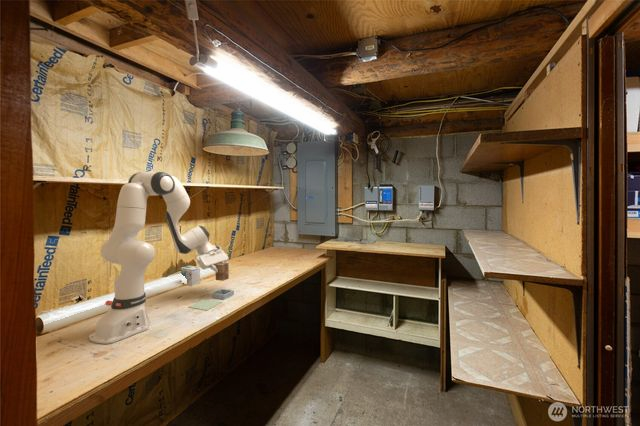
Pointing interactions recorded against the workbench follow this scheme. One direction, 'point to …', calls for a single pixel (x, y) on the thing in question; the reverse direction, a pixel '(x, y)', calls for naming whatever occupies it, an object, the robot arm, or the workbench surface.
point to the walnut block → (222, 271)
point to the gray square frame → (220, 295)
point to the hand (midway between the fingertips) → (221, 270)
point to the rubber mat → (205, 304)
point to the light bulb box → (191, 274)
